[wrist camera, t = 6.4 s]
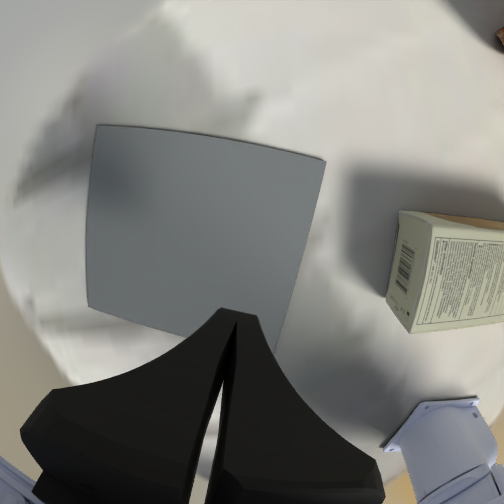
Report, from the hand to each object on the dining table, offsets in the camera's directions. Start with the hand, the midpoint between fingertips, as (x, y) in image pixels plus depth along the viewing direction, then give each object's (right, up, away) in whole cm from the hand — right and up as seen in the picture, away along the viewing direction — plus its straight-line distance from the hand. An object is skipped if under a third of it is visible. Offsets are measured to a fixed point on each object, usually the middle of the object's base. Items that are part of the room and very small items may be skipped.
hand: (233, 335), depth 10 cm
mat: (-4, +3, +7) cm, 9 cm away
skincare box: (+9, +2, +5) cm, 10 cm away
